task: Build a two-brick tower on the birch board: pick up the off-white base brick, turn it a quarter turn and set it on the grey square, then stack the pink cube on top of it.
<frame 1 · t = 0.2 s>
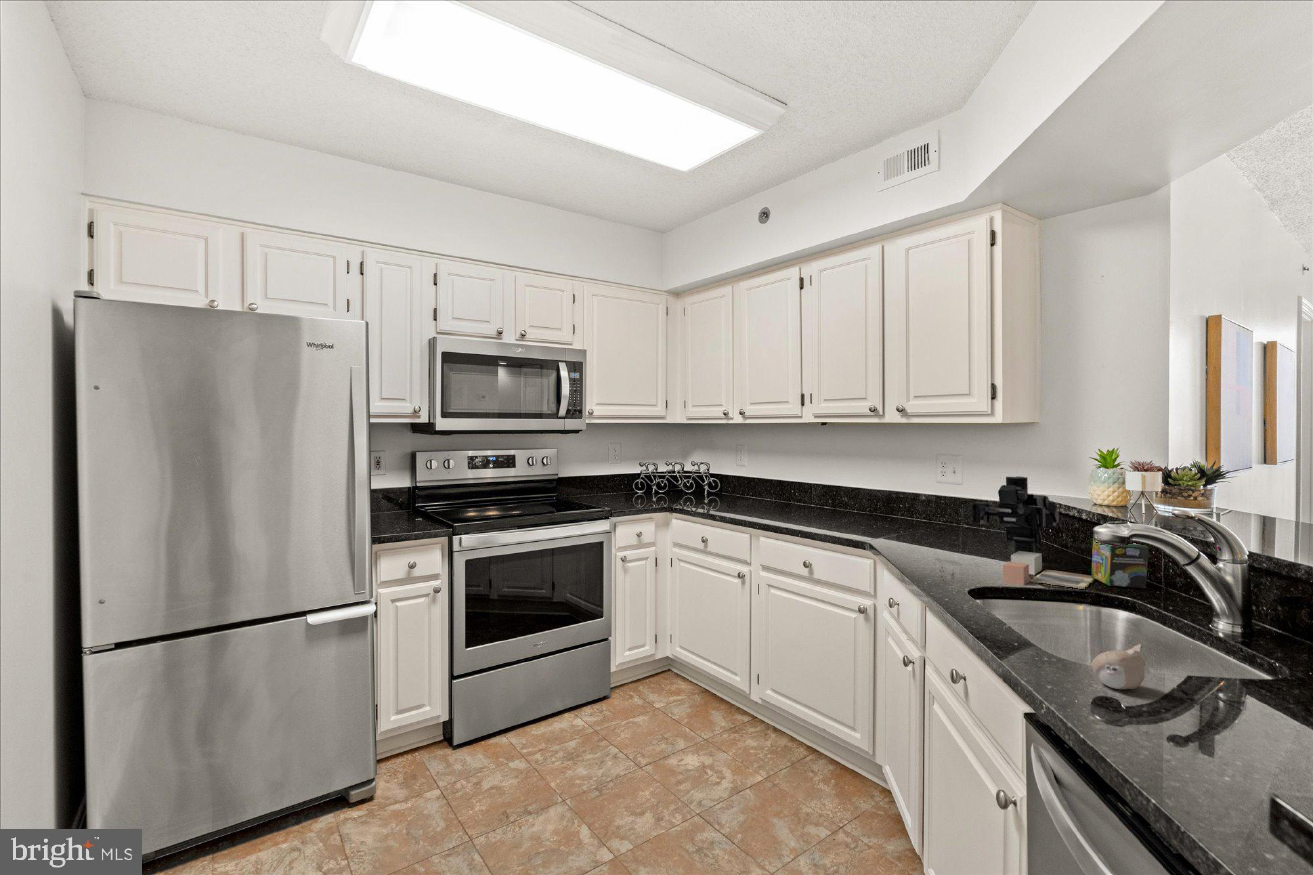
hand: (998, 519, 171), 16 cm above the worktop, tool horizontal, fingers open, 9 cm apart
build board: (1063, 580, 165), on the worktop
beige toy figurine: (1117, 688, 99), on the worktop
chalk box: (1117, 583, 160), on the worktop, touching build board
base brick: (1026, 571, 177), on the worktop
pink cube: (1016, 582, 165), on the worktop
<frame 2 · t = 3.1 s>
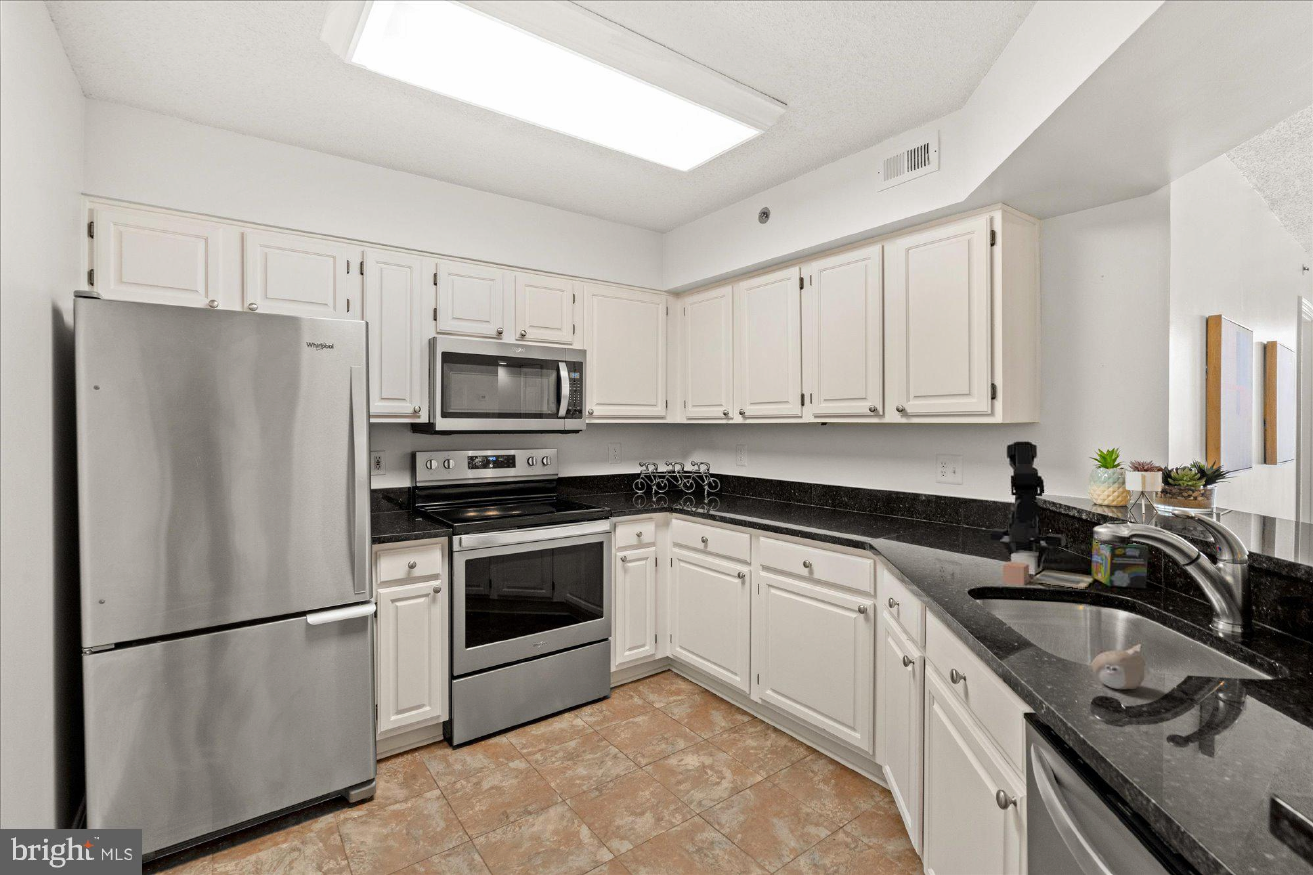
hand: (1026, 566, 177), 1 cm above the worktop, tool pointing down, fingers closed on base brick, 6 cm apart
base brick: (1026, 570, 177), on the worktop, touching gripper
everything else where it was.
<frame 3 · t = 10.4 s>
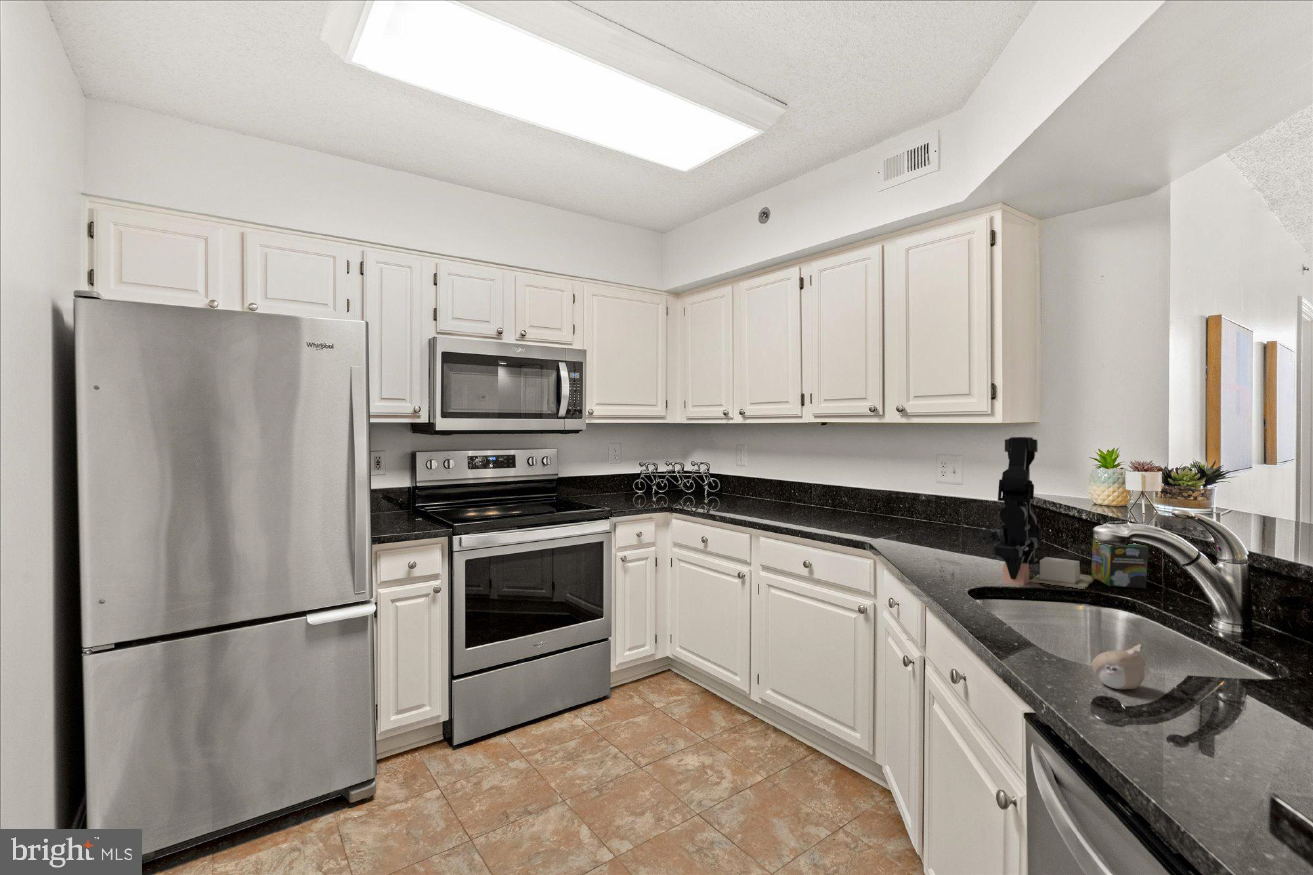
hand: (1016, 577, 165), 1 cm above the worktop, tool pointing down, fingers closed on pink cube, 5 cm apart
base brick: (1059, 578, 164), point 1 cm above the worktop, touching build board
pink cube: (1016, 581, 165), on the worktop, touching gripper
everything else where it was.
when the fingers open (8 cm above the worktop, at t = 13.7 s): pink cube stays where it is, resting on base brick.
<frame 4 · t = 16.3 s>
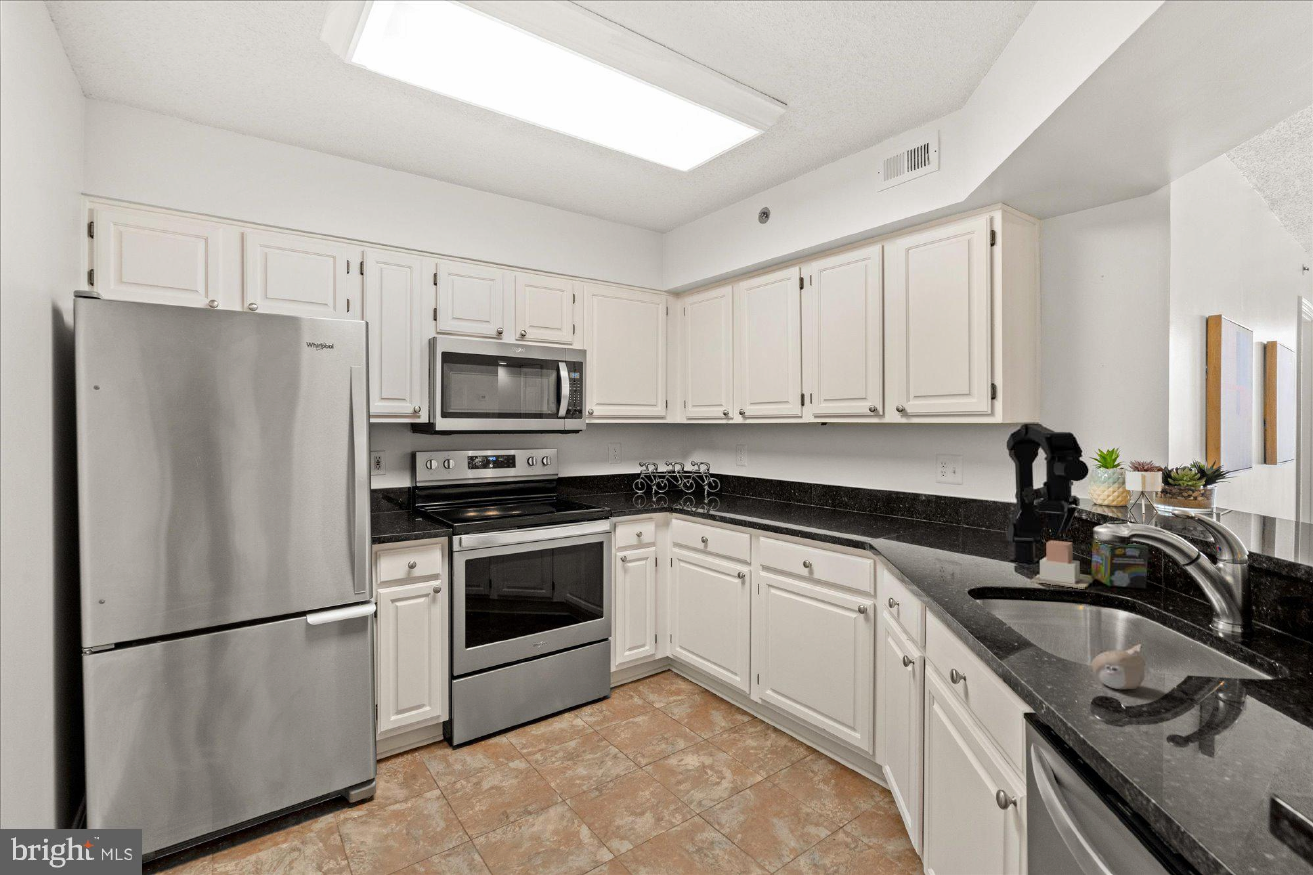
hand: (1059, 534, 164), 13 cm above the worktop, tool pointing down, fingers open, 9 cm apart
base brick: (1059, 578, 164), point 1 cm above the worktop, touching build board, pink cube
pink cube: (1059, 560, 164), point 6 cm above the worktop, touching base brick
everything else where it was.
at the end: base brick 0.0 cm from the target spot on the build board, point 0.7 cm above the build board's base; pink cube 0.0 cm off-centre on the base brick, point 5.0 cm above the base brick's base; pink cube tilted 0° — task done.
